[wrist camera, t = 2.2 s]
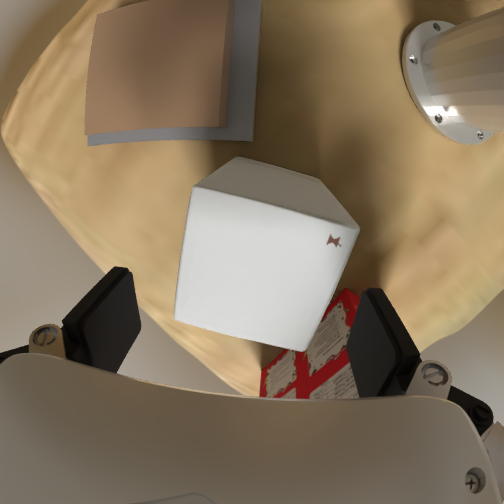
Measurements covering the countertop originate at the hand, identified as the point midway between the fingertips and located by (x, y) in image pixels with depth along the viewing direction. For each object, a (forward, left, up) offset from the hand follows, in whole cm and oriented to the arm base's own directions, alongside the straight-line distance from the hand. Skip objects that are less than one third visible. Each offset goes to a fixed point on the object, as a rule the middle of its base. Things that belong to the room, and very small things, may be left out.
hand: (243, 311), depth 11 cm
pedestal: (+9, -12, -14) cm, 21 cm away
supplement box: (0, 0, -15) cm, 15 cm away
